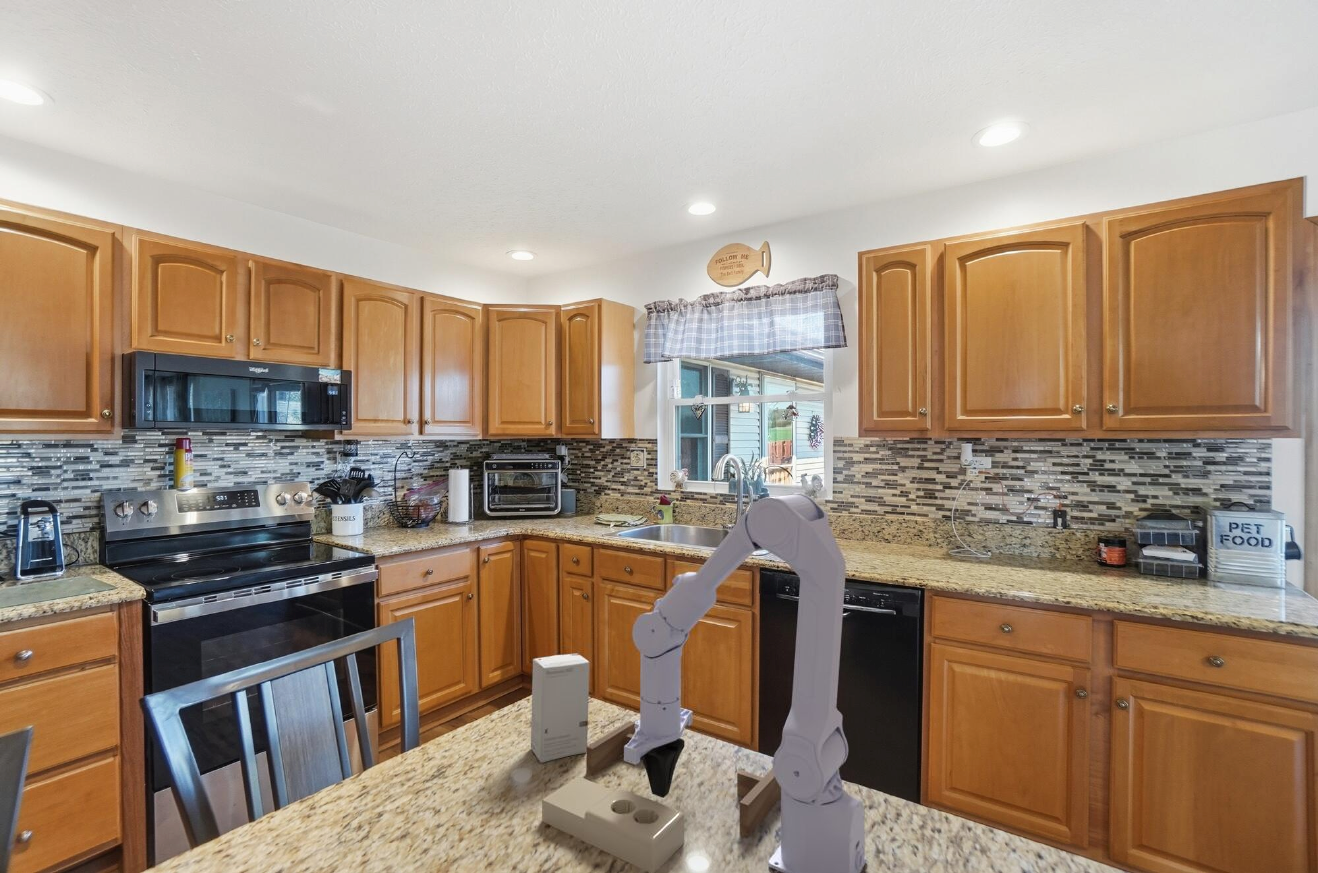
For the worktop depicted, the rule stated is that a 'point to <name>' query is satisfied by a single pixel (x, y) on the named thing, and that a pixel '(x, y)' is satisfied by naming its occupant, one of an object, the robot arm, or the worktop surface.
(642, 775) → the worktop surface
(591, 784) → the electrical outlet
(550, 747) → the skincare box
